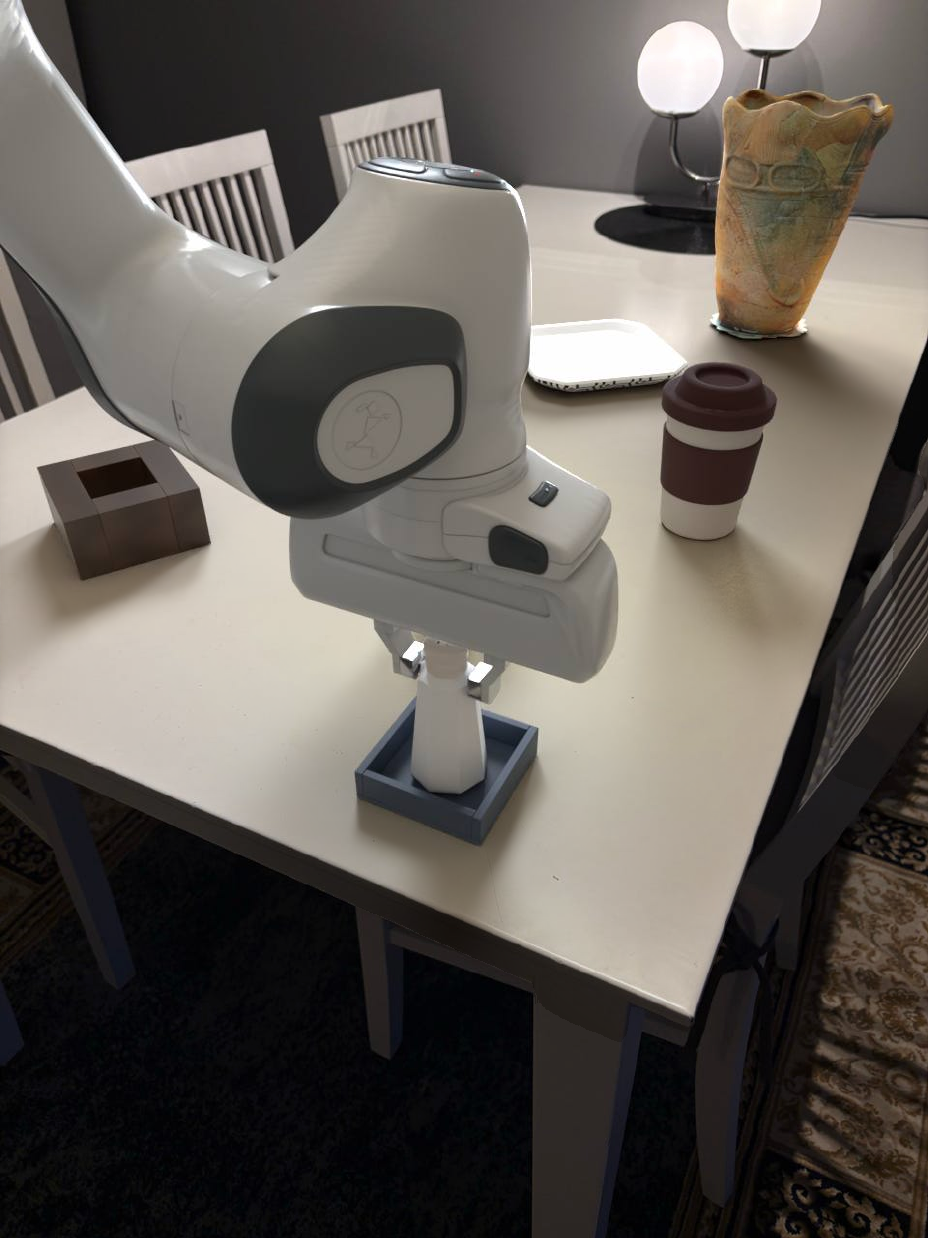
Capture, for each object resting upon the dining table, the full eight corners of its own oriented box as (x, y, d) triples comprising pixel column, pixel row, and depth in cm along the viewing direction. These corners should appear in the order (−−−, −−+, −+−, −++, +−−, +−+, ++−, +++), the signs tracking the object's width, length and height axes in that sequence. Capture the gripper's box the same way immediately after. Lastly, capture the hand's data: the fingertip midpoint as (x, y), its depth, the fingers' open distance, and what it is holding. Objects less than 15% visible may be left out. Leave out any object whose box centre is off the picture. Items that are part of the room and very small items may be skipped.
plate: (696, 386, 115) (699, 370, 114) (540, 402, 112) (541, 385, 110) (635, 331, 131) (637, 316, 130) (497, 343, 128) (497, 328, 126)
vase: (869, 341, 128) (935, 97, 110) (744, 358, 123) (792, 105, 105) (782, 295, 144) (827, 76, 126) (668, 309, 139) (698, 83, 121)
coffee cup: (676, 487, 95) (698, 346, 86) (766, 518, 90) (799, 372, 80) (626, 526, 88) (644, 378, 79) (720, 561, 83) (750, 408, 74)
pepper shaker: (394, 779, 61) (384, 651, 54) (433, 729, 65) (429, 604, 58) (465, 807, 59) (464, 679, 52) (502, 754, 63) (505, 628, 56)
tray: (356, 797, 61) (353, 771, 59) (422, 713, 67) (421, 688, 66) (480, 847, 58) (480, 820, 56) (537, 753, 64) (538, 727, 63)
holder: (81, 580, 81) (62, 522, 78) (54, 521, 90) (36, 466, 86) (211, 543, 86) (199, 487, 83) (174, 490, 95) (162, 437, 91)
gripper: (251, 473, 51) (282, 664, 59) (599, 564, 43) (578, 768, 51) (315, 429, 55) (335, 612, 63) (641, 504, 48) (615, 701, 56)
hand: (447, 683), depth 57 cm, fingers closed on pepper shaker, 4 cm apart
